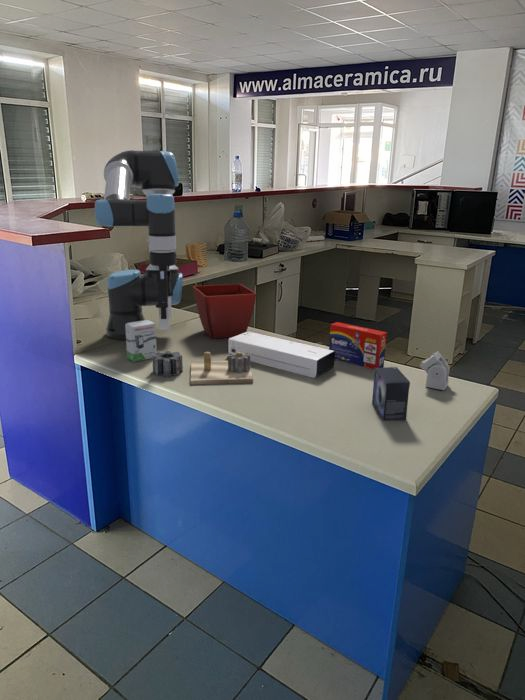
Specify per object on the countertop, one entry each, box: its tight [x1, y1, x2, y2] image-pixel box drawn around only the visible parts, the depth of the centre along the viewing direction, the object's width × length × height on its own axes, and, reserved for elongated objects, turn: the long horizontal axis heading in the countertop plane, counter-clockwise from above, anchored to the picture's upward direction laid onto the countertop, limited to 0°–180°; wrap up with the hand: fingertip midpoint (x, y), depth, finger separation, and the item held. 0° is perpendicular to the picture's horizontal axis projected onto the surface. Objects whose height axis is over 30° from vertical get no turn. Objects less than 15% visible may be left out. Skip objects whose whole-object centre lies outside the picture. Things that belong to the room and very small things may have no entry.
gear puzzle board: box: [190, 351, 254, 385], centre depth 159 cm, size 16×18×7 cm
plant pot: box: [192, 283, 257, 339], centre depth 198 cm, size 19×19×17 cm
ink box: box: [125, 319, 158, 363], centre depth 171 cm, size 9×5×12 cm, turn 129°
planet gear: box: [151, 350, 184, 378], centre depth 161 cm, size 9×9×5 cm
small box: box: [371, 366, 411, 421], centre depth 135 cm, size 11×6×10 cm, turn 5°
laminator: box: [227, 331, 336, 379], centre depth 170 cm, size 34×12×6 cm, turn 55°
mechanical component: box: [419, 351, 450, 391], centre depth 153 cm, size 5×8×10 cm
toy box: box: [328, 321, 388, 371], centre depth 170 cm, size 18×4×12 cm, turn 52°
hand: (165, 323), depth 156 cm, fingers open, 13 cm apart
